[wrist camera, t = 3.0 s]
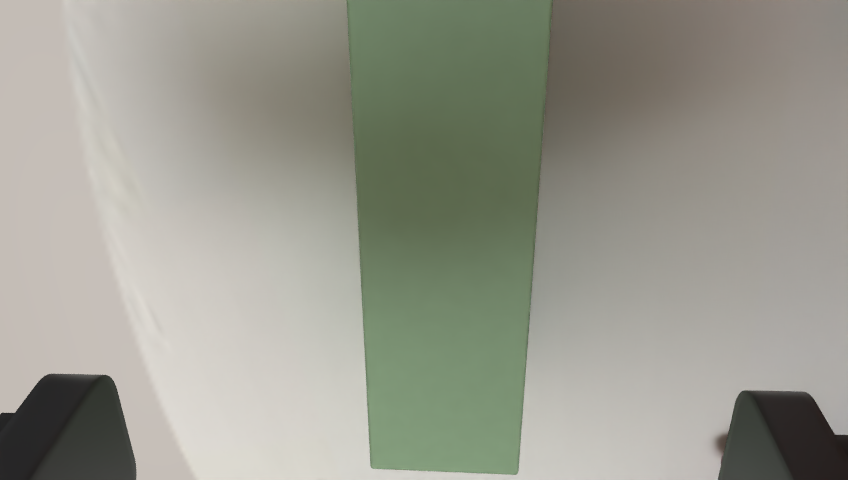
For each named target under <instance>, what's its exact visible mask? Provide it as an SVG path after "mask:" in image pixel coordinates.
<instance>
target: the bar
mask: <svg viewBox="0 0 848 480" xmlns="http://www.w3.org/2000/svg"><path fill="white" fill-rule="evenodd" d="M552 5H553V0H347V17H348V36H349V56H350V75H351V95H352V114H353V134H354V153H355V172H356V192H357V211H358V231H359V250H360V269H361V289H362V308H363V328H364V347H365V366H366V386H367V405H368V425H369V444H370V464H371V468H373V469H395V470H418V471H441V472H464V473H487V474H510V475H516V474H517V473H518V468H519V454H520V441H521V427H522V414H523V400H524V386H525V373H526V359H527V345H528V332H529V318H530V305H531V291H532V277H533V264H534V250H535V237H536V223H537V209H538V196H539V182H540V168H541V155H542V141H543V128H544V114H545V100H546V87H547V73H548V60H549V46H550V32H551V19H552Z"/></svg>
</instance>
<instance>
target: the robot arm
mask: <svg viewBox="0 0 848 480" xmlns="http://www.w3.org/2000/svg"><path fill="white" fill-rule="evenodd" d="M0 480H136V463H135V458H134V454H133V450H132V446H131V442H130V439H129V435H128V431H127V427H126V423H125V419H124V415H123V411H122V408H121V403H120V399H119V396H118V392H117V388H116V386H115V383H114V381H113V380H112V378H110V377H109V376H107V375H84V374H48V375H46V376H44V377H43V378H42V379H41V380H40V381H39V382H38V383H37V385H36V386H35V387H34V388H33V390H32V391H31V392H30V394H29V395H28V396H27V398H26V399H25V400H24V402H23V403H22V404H21V406H20V407H19V408H18V410H17V411H16V412H15V413H1V414H0ZM718 480H848V435H835V434H834V433H833V431H832V429H831V427H830V426H829V424H828V422H827V421H826V419H825V417H824V416H823V414H822V412H821V410H820V409H819V407H818V405H817V404H816V402H815V400H814V399H813V398H812V396H811V395H810V394H808V393H806V392H792V391H742V392H741V393H740V394H739V395H738V397H737V399H736V403H735V406H734V411H733V415H732V420H731V424H730V428H729V433H728V437H727V442H726V446H725V451H724V455H723V459H722V464H721V468H720V473H719V477H718Z"/></svg>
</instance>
